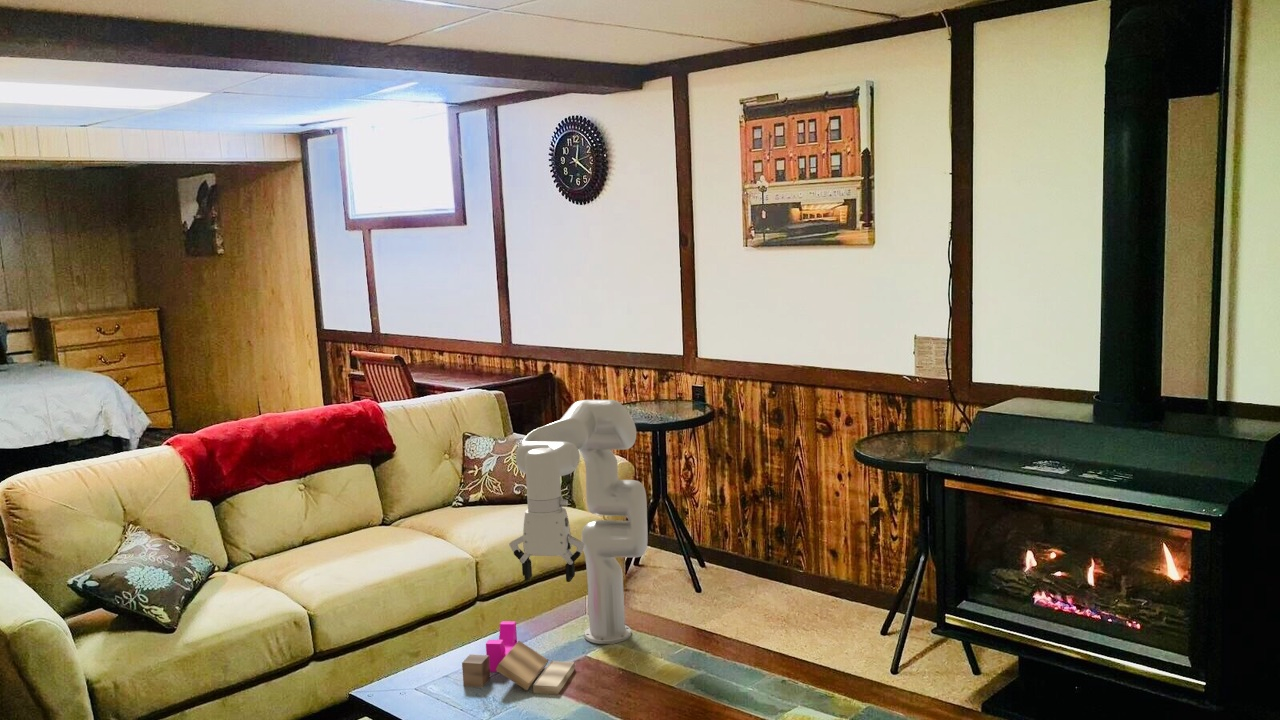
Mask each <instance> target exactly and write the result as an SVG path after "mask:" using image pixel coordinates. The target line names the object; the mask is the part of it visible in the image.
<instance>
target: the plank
mask: <svg viewBox="0 0 1280 720" xmlns="http://www.w3.org/2000/svg"><path fill="white" fill-rule="evenodd" d="M549 661H550V659H548V658H546V657H544V656H543V655H542V654H540V653H538V652H537V651H535V650H534V649H532V648H531V647H529V646H528V645H526V644H525V643H523V642H522V641H520V640H517V644H516V645H515V646H514V647H513V648H512V649H511V650H510V652H509V653H508V654H507V655H506V656H505V657H504V658H503V660H502V661H501V662H500V663H499V665H498V666H497V668H496V671H498V672H497V673H499V674H501V675H502V676H503V677H505V678H507V679H509V680H510V681H511V682H513V683H514V684H516V685H517V686H520V687H521V688H523V690H525V691H528V690H529V688H530V687H531V686H533V684H534V683H535V682H536V680H537V679H538V678H539V676H540V675H541V674H542V672H543V671H544V670H545V668H546V667H547V665H548V664H549Z"/></svg>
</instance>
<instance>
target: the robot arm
mask: <svg viewBox="0 0 1280 720" xmlns="http://www.w3.org/2000/svg"><path fill="white" fill-rule="evenodd" d="M636 440H637V427H636V424H635V421H634V420H633V418H632V417H631V415H630V414H629V412H628V410H627V408H625V407H624V405H623V404H622V403H621V402H620V401H618V400H614V399H583V400H578V401H575V402H574V403H572V404H571V405H570V406H569V408H568V409H567V410H566V412H565V413H564V414H563V415H562V417H560V419H559V420H556V421H554V422H550V423H548V424H546V425H543V426H540V427H537V428H536V429H533V430H531V431H530V432H528V433H527V435H525V436H524V437H523V439H522V440H521V442H520V443H519V445H518V447H517V449H516V453H515V464H516V467H517V469H518V470H519V471H520V472H521V473H523V474H525V480H526V481H525V482H526V499H527V509H526V510H525V513H524V518H523V519H524V520H523V527H522V528H523V531H522V535H521V536H519V537H517V538H515V539H513V540H512V541H510V542H509V543H508V544H509V547H510V550H511V551H512V552H513V555H514V556H515V557H516V558H517V560H519V563H520V564H521V571H522V576H523V577H524V581H525V582H526V581H527V582H528V581H529V580H530V579H531V578H532V577H533V572H532V560H531V559H530V558H531V556H535V557H536V556H537V557H538V556H539V557H562V558H563V560H565V562H566V563H565V581H566V583H570V582H571V581H572V580H573V579H574V577H576V576H575V575H576V571H575V570H576V569H575V568H576V567H575V562H576V561H577V560H578V559H579V557H580V556H581V555H582V553H583V554H584V559H585V565H586V578H587V579H586V580H587V581H586V582H587V583H586V584H587V598H588V599H587V600H588V601H587V602H588V618H589V620H588V621H589V627H588V628H586V629H585V630H584V631H583V633H584V635H583V636H584V639H585V640H587V642H590V643H593V644H597V645H598V644H599V645H611V644H617V643H621V642H623V641H626V640H628V639H629V638H630V637H631V635H632V629H631V627H630V626H628V625H627V624H626V621H625V620H626V615H625V614H626V613H625V597H624V577H623V575H624V574H623V570H622V566H621V565H620V563H619V561H618V559H616V558H640V557H643V556H644V555H645V553H646V551H647V549H648V507H647V506H648V505H647V504H648V502H647V500H648V499H647V492H646V488H645V486H644V485H643V483H642V482H640V481H639V480H634V479H620V478H619V474H618V473H619V472H618V459H617V457H616V455H615V454H614V452H613V451H614V450H616V451H617V450H624V451H625V450H628V449H631V448H632V447H633V446H634V445H635V443H636ZM612 450H613V451H612ZM580 453H581V455H580ZM580 456H582V459H583V461H584V465H585V492H586V494H585V495H586V496H585V497H586V498H585V499H586V507H587V509H588V511H589V513H591V514H592V515H595V516H596V515H597V516H607V517H608V516H609V517H610V516H612V517H614V516H615V517H626V518H627V520H615V519H614V520H613V519H609V520H608V519H606V520H605V519H603V520H602V519H599V520H598V519H597V520H592V521H589V522H587V523H586V524H585V525H584V526H583V528H582V530H581V535H580V536H581V540H580V539H578V538H576V537H574V536H572V535H571V527H570V520H569V517H568V513H567V509H566V508H565V507H566V506H568V504H569V500H568V499H564V498H563V495H562V486H561V485H562V484H561V477H563V476H566V475H567V476H568V475H570V474H572V473H573V472H574V471H575V470H576V469H577V468H578V465H579V463H580V460H581V459H580ZM520 544H522V547H523V550H522V549H521V548H520V547H519V545H520ZM572 546H574V547H575V548H576V550H575V552H574V553H573V552H572V550H571V549H572Z"/></svg>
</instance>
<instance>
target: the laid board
mask: <svg viewBox="0 0 1280 720" xmlns="http://www.w3.org/2000/svg"><path fill="white" fill-rule="evenodd" d="M575 668H576V667H575V662H574V661H560V660H559V661H557V660H551V661H550V662H548V663H547V665H546V666H545V667H544V669H543V670H542V671H541V673H540V674H539V675H538V677H537V678H536V679H535V681H534V682H533V683H532V687H533V689H532V690H533V694H538V695H539V694H540V695H541V694H542V695H543V694H544V695H556V696H557V695H559V694H560V692H561V690H563V688H564V686H565V685H566V683H567V682H568V680H569V678H570V677H571V676H572V674H573V673H574V671H575Z"/></svg>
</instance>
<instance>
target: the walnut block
mask: <svg viewBox="0 0 1280 720" xmlns="http://www.w3.org/2000/svg"><path fill="white" fill-rule="evenodd" d="M461 664H462V665H461V666H462V667H461V669H462V680H463V687H470V688H471V687H472V688H474V687H475V688H484V686H486V684H487V683H488V682H489V681H490V680H491V672H490V664H489V655H485V654H472V653H471V654H469V655H468V656H467V657H466V658H465V659H464V660H463V661H462V662H461Z"/></svg>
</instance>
